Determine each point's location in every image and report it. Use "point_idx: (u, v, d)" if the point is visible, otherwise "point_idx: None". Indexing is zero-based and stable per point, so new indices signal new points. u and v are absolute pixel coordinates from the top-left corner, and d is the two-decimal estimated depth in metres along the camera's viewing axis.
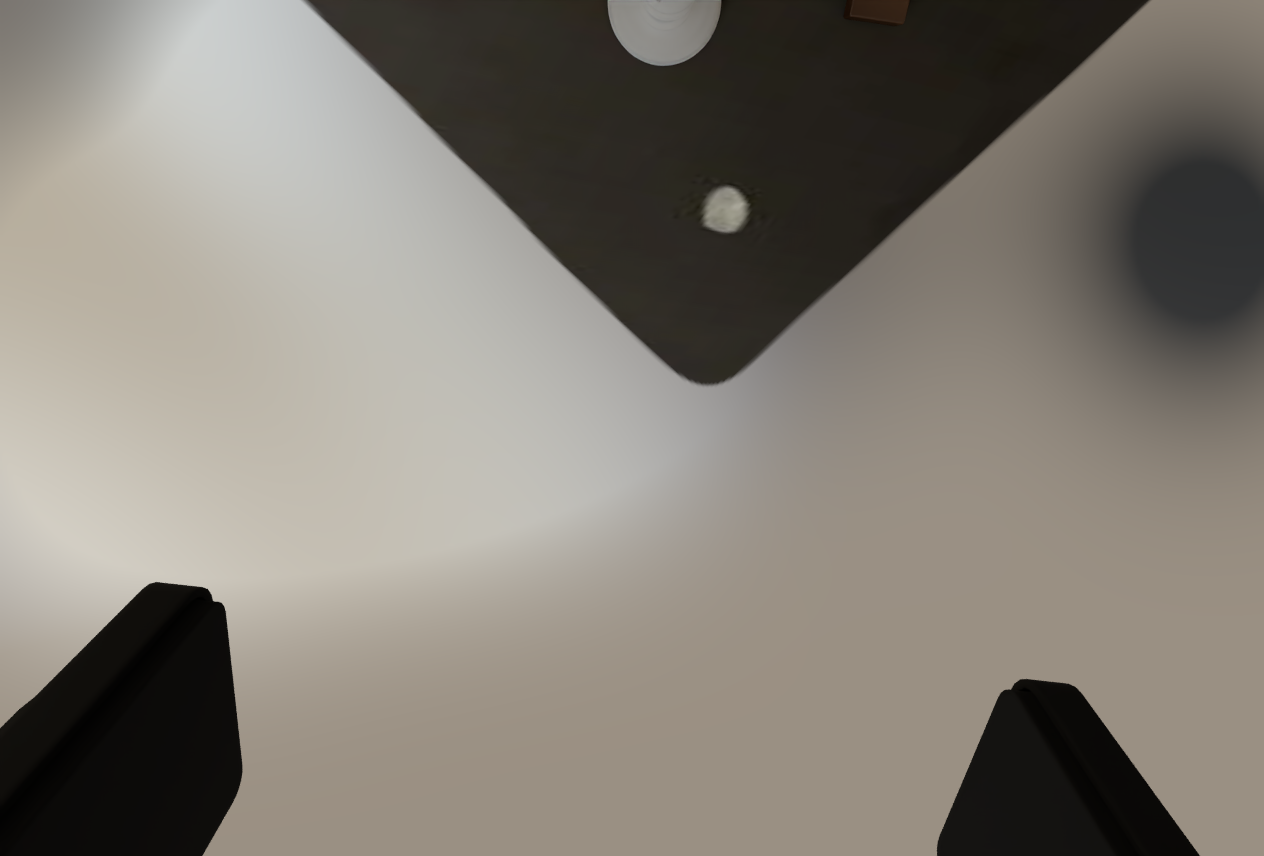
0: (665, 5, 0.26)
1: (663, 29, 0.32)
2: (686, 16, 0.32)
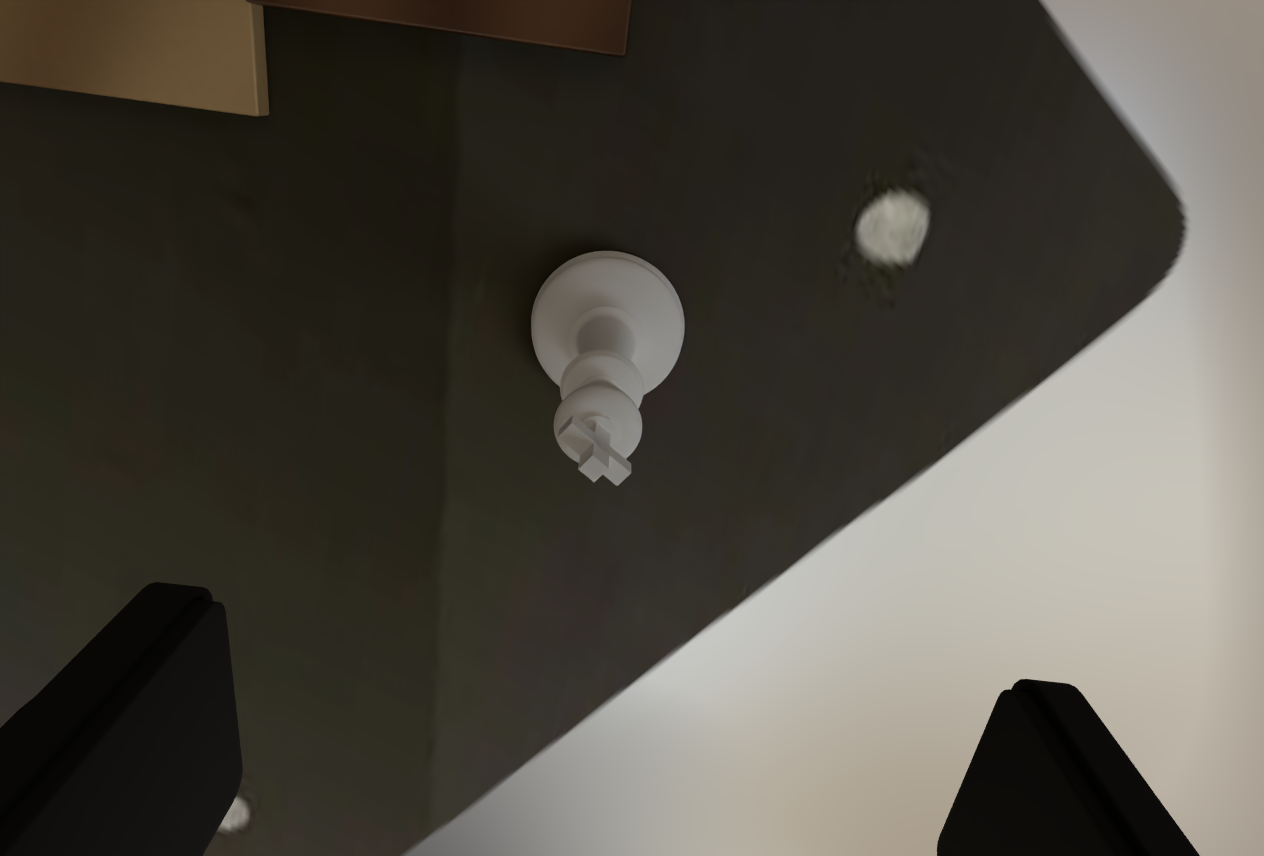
0: (631, 437, 0.17)
1: (643, 345, 0.23)
2: (627, 314, 0.23)
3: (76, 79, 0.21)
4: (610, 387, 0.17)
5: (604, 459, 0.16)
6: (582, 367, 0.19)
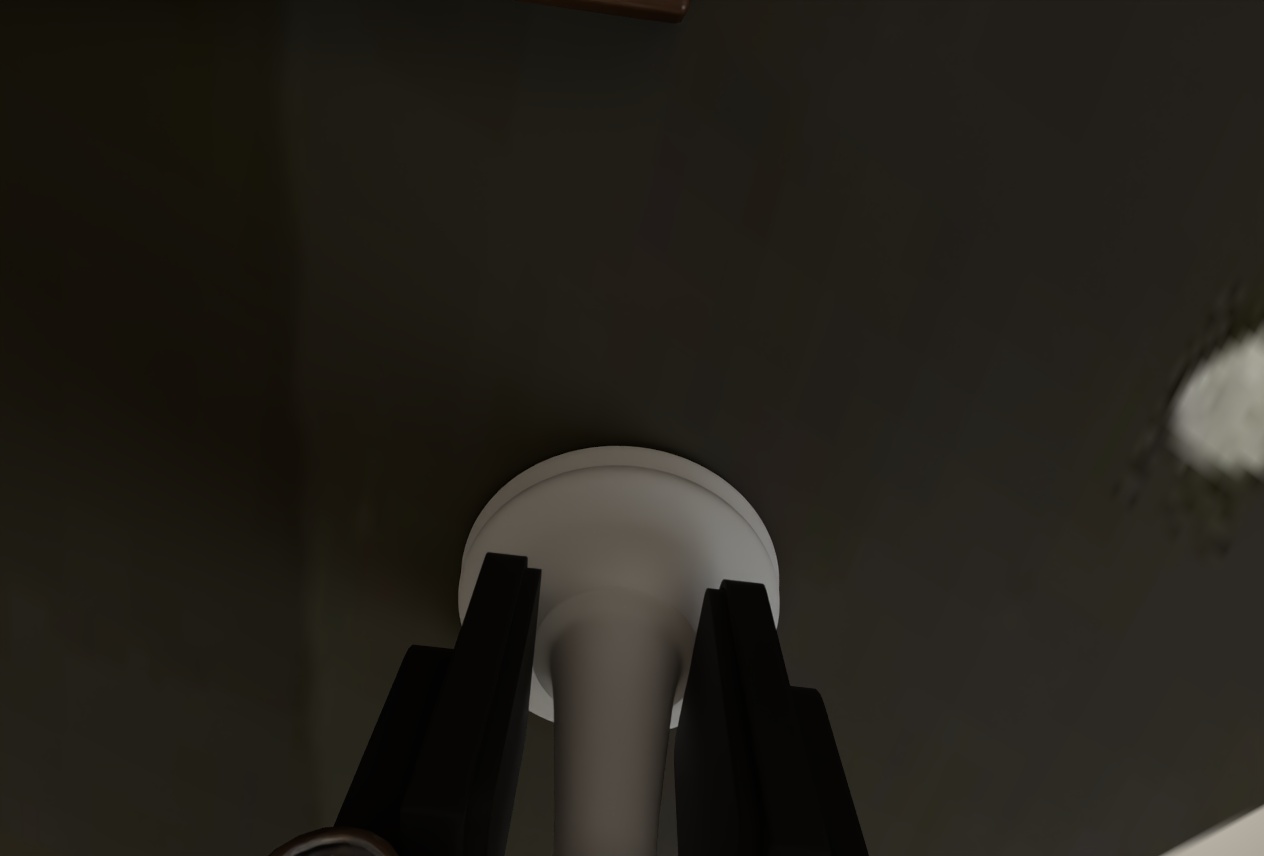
0: None
1: None
2: (664, 607, 0.10)
3: None
4: None
5: None
6: None
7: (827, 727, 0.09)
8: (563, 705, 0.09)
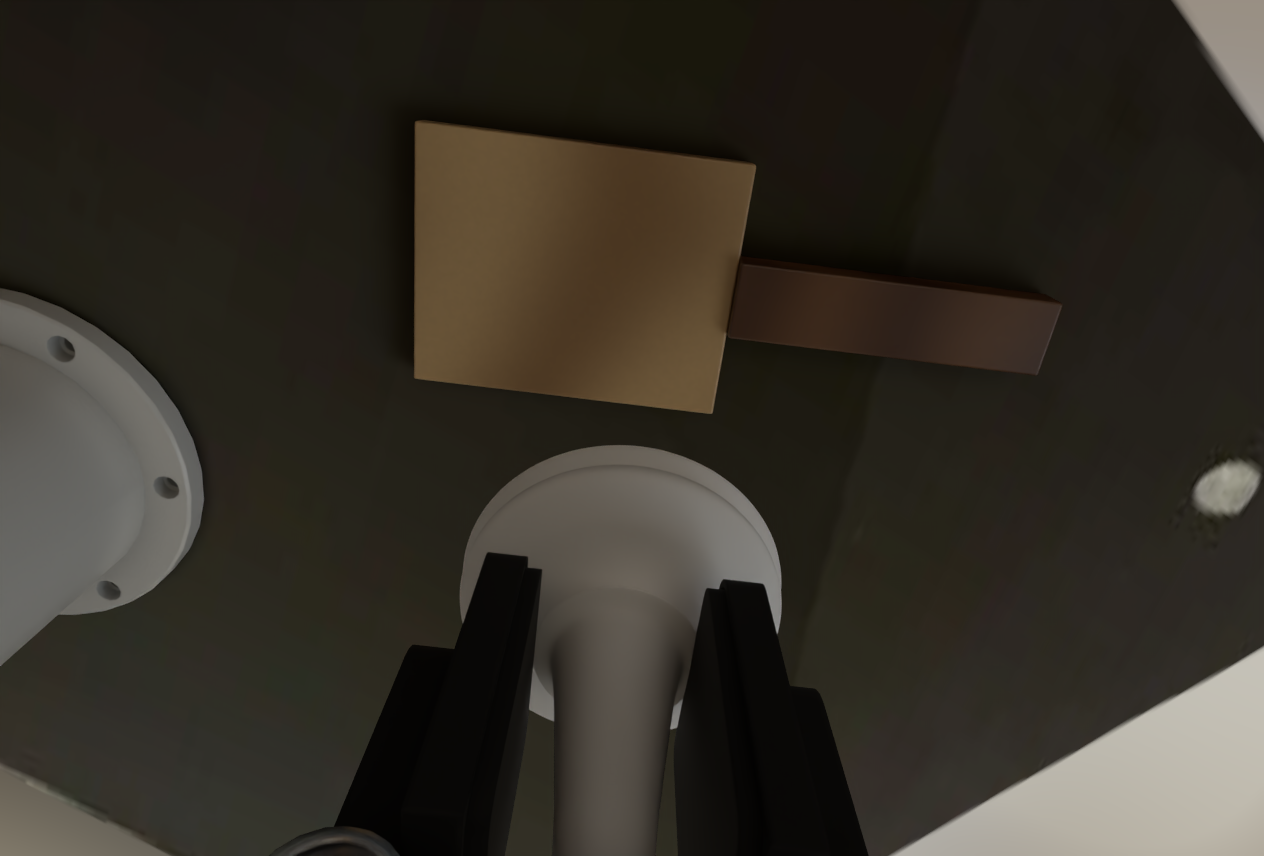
0: None
1: None
2: (665, 607, 0.10)
3: (568, 388, 0.25)
4: None
5: None
6: None
7: (827, 727, 0.09)
8: (563, 704, 0.09)
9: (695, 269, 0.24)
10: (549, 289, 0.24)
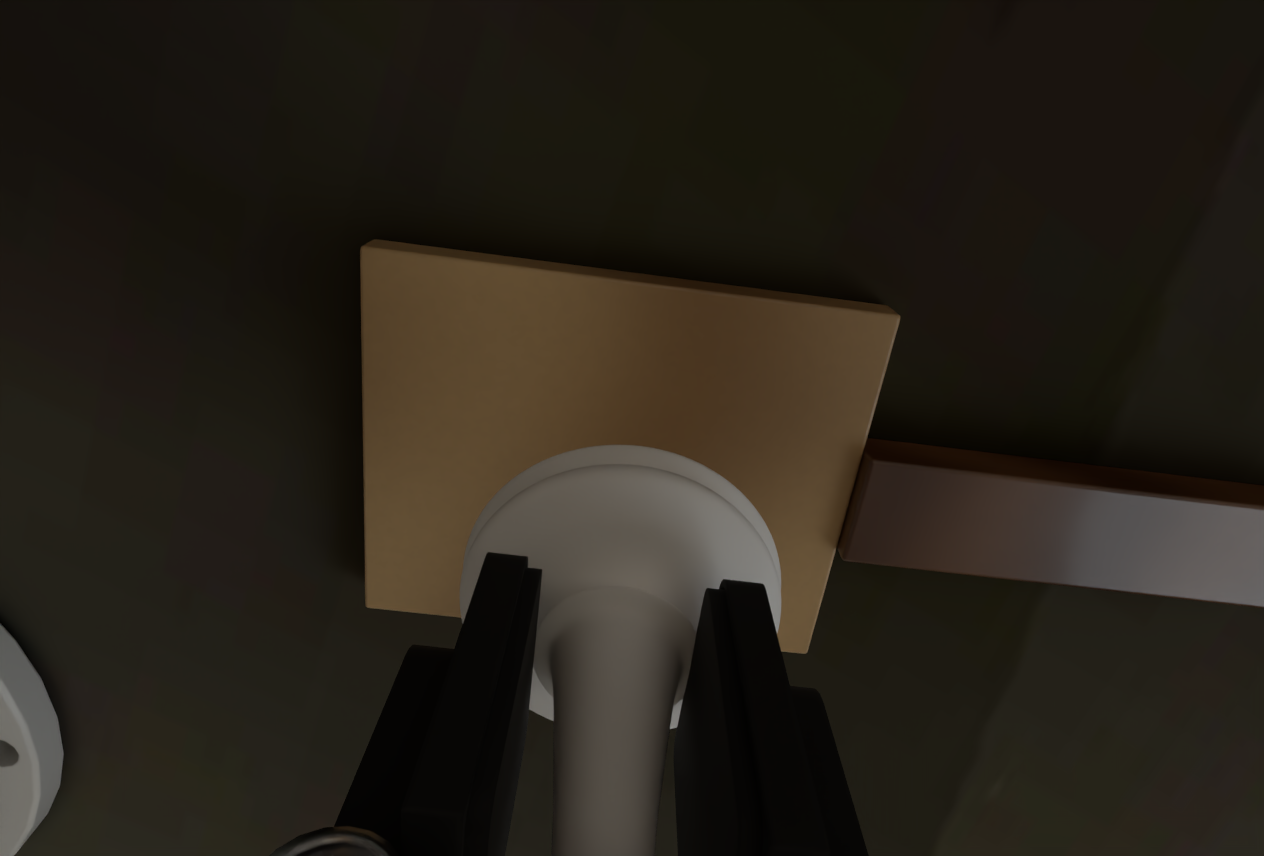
0: None
1: None
2: (664, 607, 0.10)
3: None
4: None
5: None
6: None
7: (827, 727, 0.09)
8: (563, 704, 0.09)
9: (796, 463, 0.15)
10: None
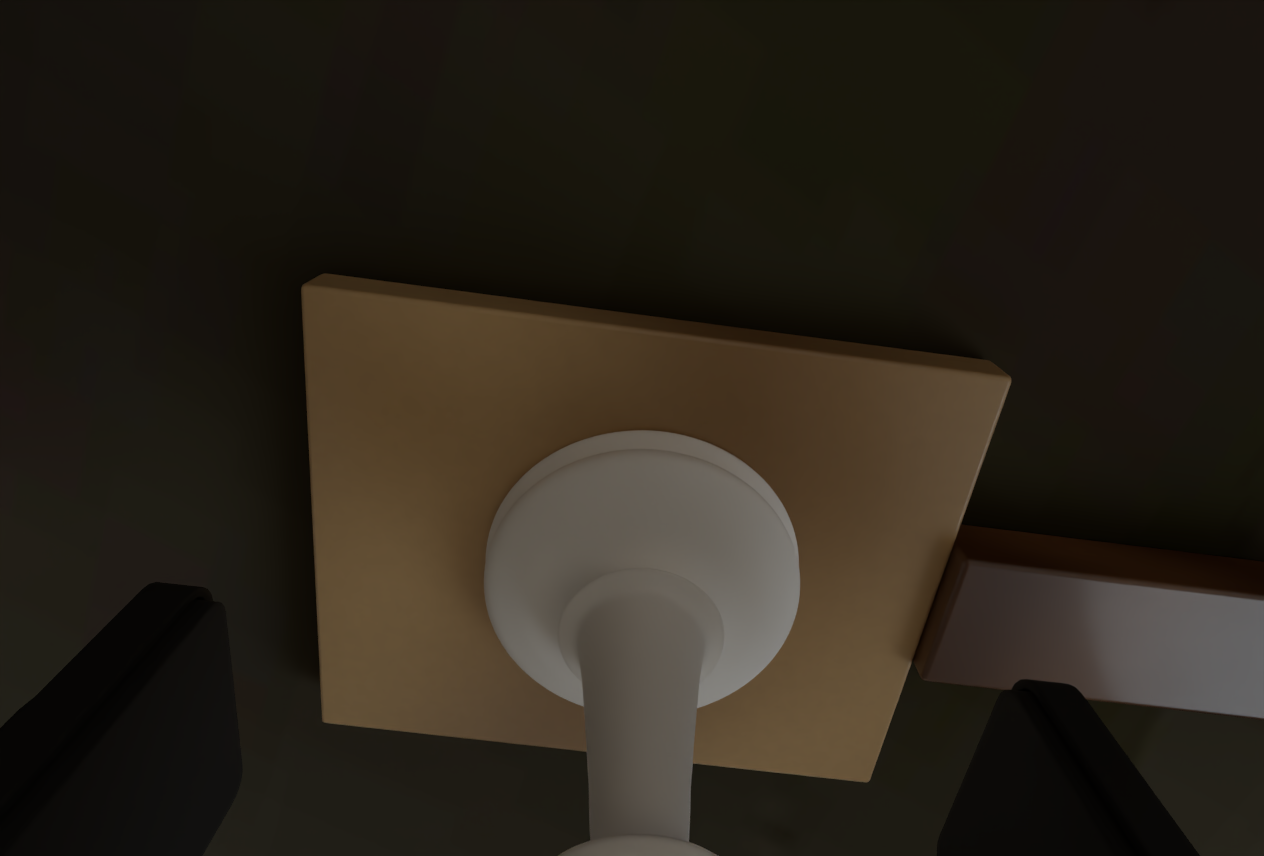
0: None
1: (721, 645, 0.11)
2: (689, 588, 0.10)
3: None
4: None
5: None
6: None
7: None
8: (593, 682, 0.09)
9: (865, 559, 0.12)
10: None
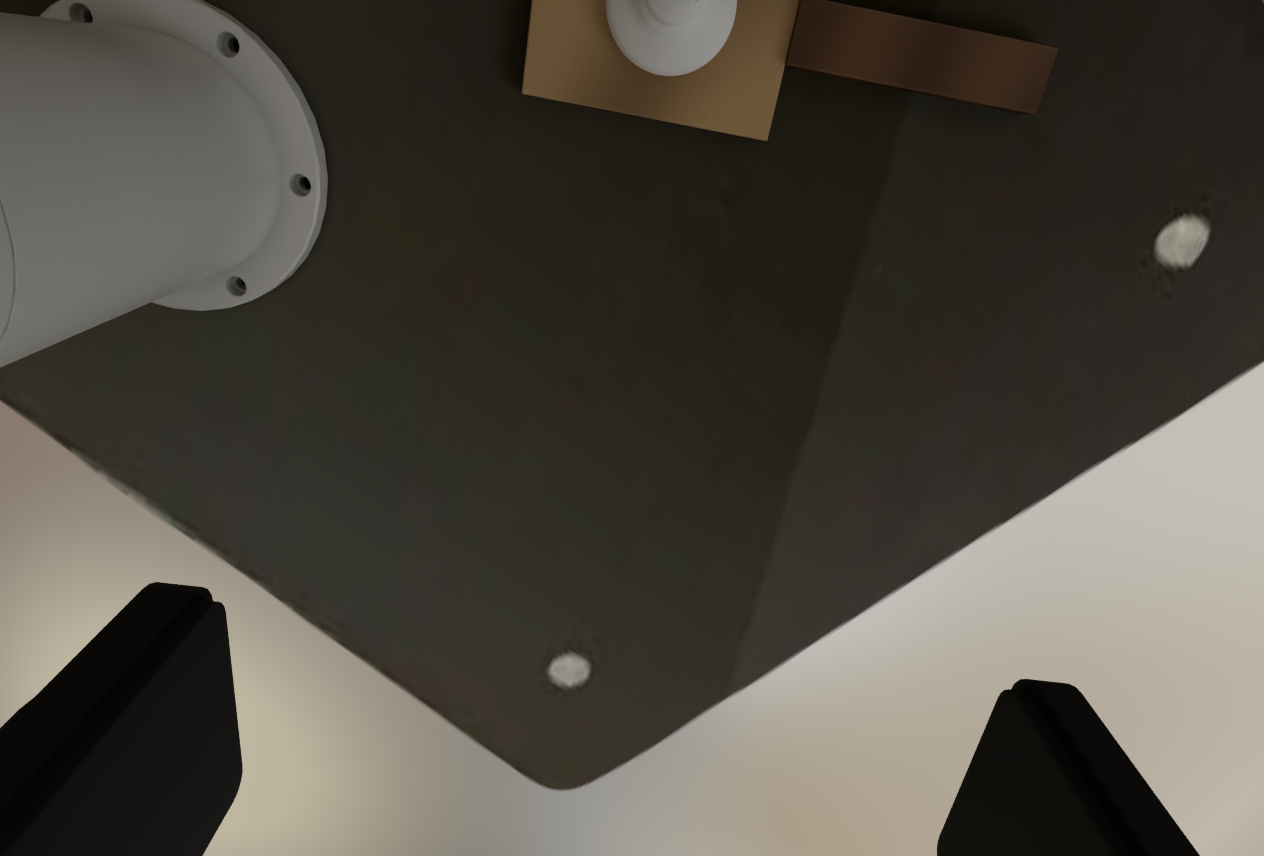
0: None
1: None
2: None
3: (650, 109, 0.30)
4: None
5: None
6: None
7: None
8: None
9: (764, 2, 0.29)
10: None
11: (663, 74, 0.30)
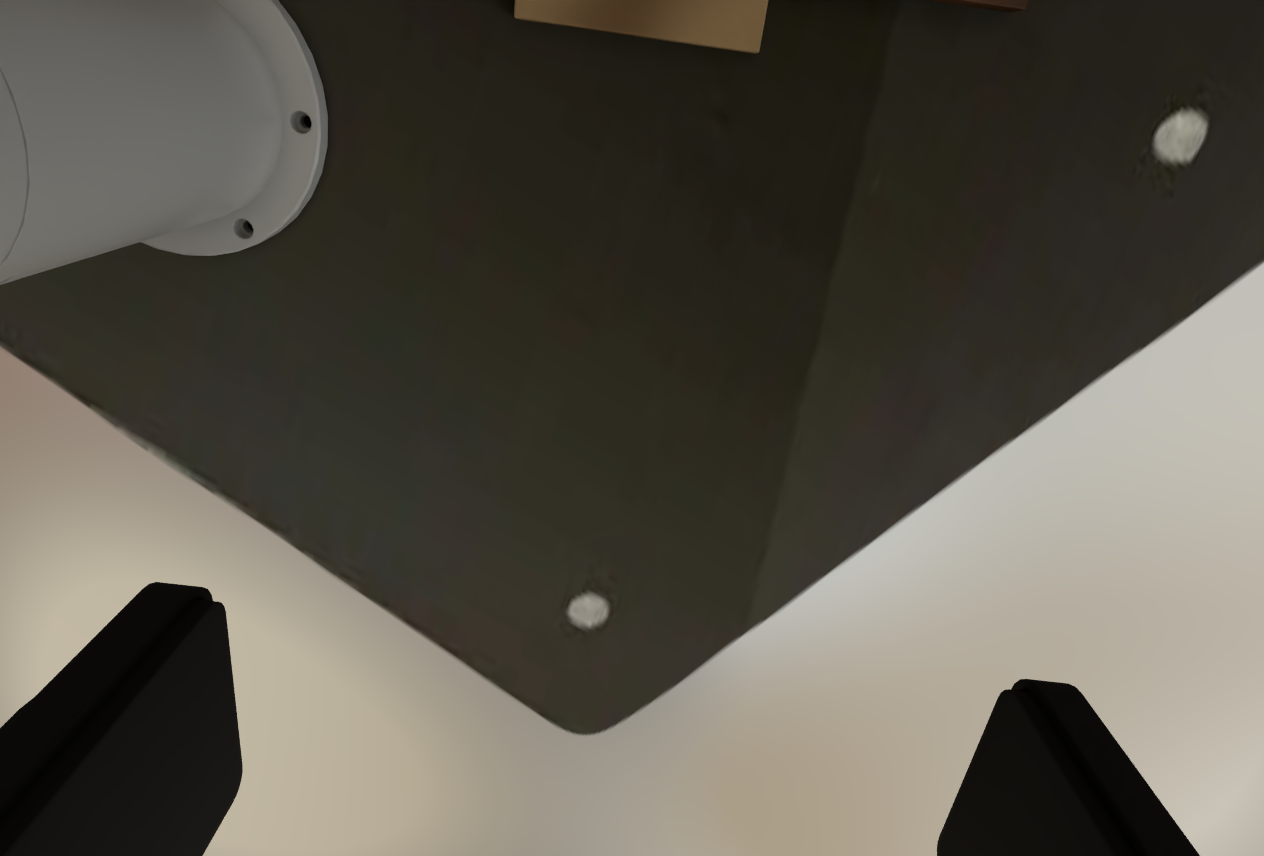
0: None
1: None
2: None
3: (641, 26, 0.31)
4: None
5: None
6: None
7: None
8: None
9: None
10: None
11: None
